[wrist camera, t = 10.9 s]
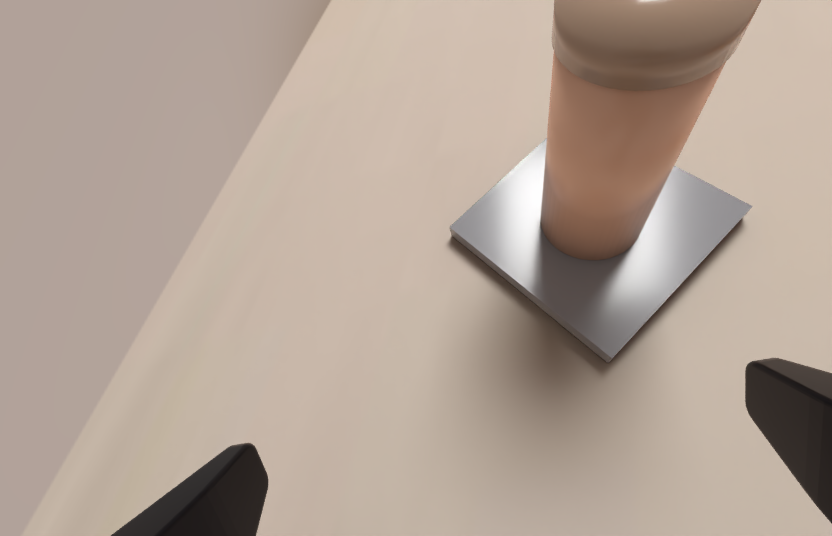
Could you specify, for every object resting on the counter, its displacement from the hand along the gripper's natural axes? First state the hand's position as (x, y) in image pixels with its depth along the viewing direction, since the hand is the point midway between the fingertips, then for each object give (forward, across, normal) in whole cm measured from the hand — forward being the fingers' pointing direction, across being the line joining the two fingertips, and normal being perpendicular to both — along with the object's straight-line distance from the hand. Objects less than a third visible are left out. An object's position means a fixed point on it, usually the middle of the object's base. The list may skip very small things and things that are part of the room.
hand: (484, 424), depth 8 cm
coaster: (+17, -7, +2) cm, 19 cm away
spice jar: (+17, -7, +1) cm, 18 cm away
